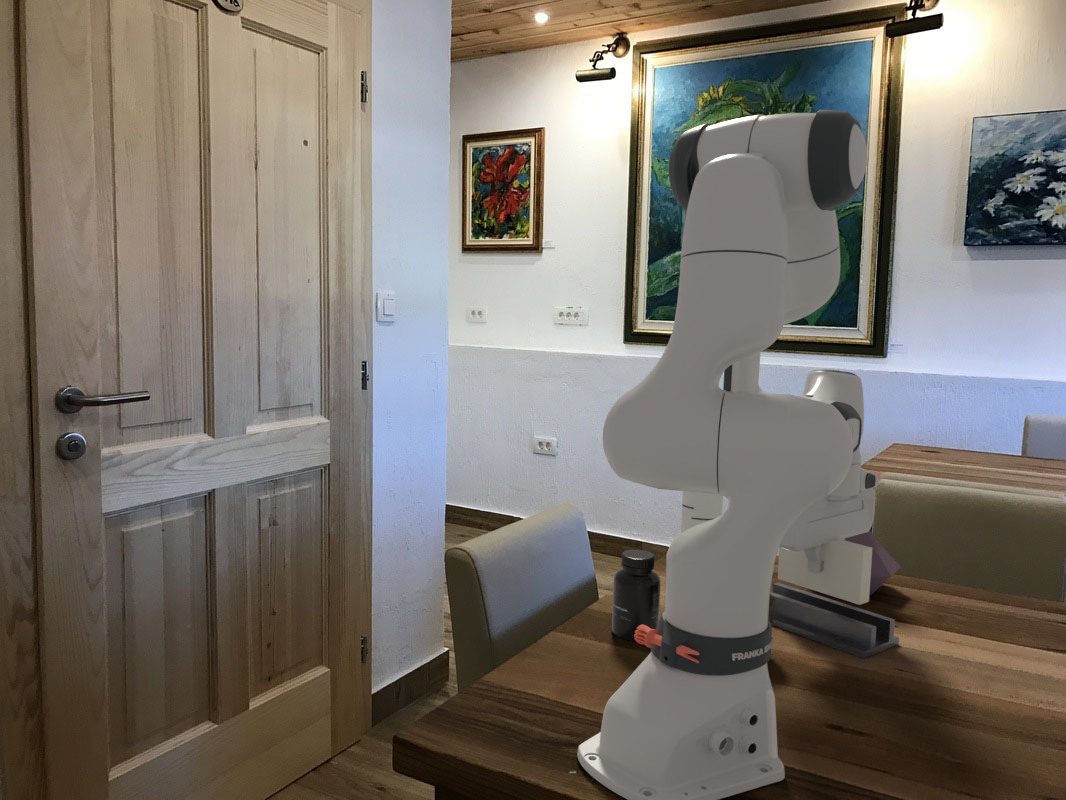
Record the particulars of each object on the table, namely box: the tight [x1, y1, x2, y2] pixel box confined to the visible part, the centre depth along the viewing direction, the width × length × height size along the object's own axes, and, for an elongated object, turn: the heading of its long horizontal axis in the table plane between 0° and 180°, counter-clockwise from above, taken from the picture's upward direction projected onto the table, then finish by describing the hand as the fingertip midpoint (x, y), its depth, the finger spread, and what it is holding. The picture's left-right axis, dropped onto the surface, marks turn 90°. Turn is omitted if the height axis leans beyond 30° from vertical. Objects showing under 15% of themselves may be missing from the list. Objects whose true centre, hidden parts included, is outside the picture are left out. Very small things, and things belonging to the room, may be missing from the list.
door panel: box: [777, 539, 872, 606], centre depth 128 cm, size 14×2×8 cm, turn 38°
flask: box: [845, 529, 902, 596], centre depth 149 cm, size 16×16×20 cm
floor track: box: [770, 582, 900, 660], centre depth 129 cm, size 20×9×4 cm, turn 38°
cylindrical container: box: [680, 491, 724, 534], centre depth 154 cm, size 7×7×25 cm
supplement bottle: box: [611, 549, 661, 642], centre depth 126 cm, size 7×7×12 cm
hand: (822, 569), depth 128 cm, fingers closed on door panel, 2 cm apart
